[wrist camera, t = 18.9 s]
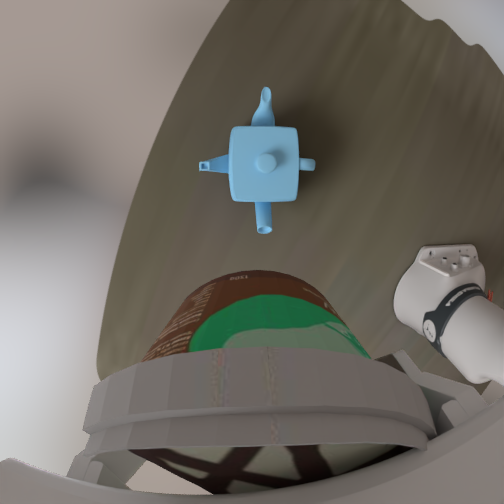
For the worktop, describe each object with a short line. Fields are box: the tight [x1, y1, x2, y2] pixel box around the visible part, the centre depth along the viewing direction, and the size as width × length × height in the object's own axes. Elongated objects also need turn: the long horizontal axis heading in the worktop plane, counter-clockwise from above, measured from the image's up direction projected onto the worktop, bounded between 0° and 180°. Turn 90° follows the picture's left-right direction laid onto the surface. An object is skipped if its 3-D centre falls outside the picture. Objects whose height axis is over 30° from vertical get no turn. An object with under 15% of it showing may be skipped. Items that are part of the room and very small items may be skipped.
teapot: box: [199, 87, 315, 234], centre depth 35 cm, size 18×14×10 cm
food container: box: [83, 270, 438, 495], centre depth 10 cm, size 12×6×10 cm, turn 43°
